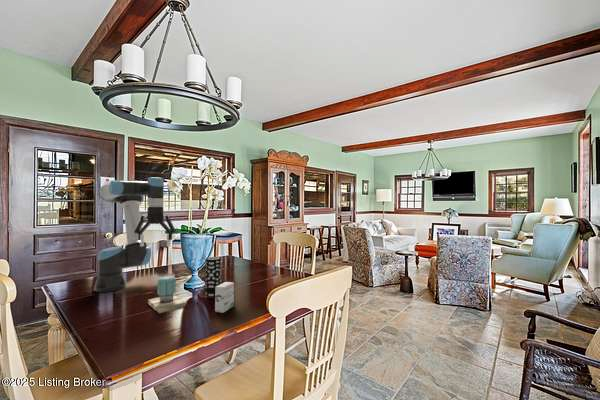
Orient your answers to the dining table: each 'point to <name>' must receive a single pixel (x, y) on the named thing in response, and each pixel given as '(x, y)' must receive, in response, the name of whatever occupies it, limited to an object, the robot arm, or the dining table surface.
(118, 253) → the robot arm
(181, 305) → the board
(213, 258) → the white-spotted black cylinder
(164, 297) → the knobbed metal weight
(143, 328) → the dining table surface
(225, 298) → the ink box
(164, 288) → the cap
